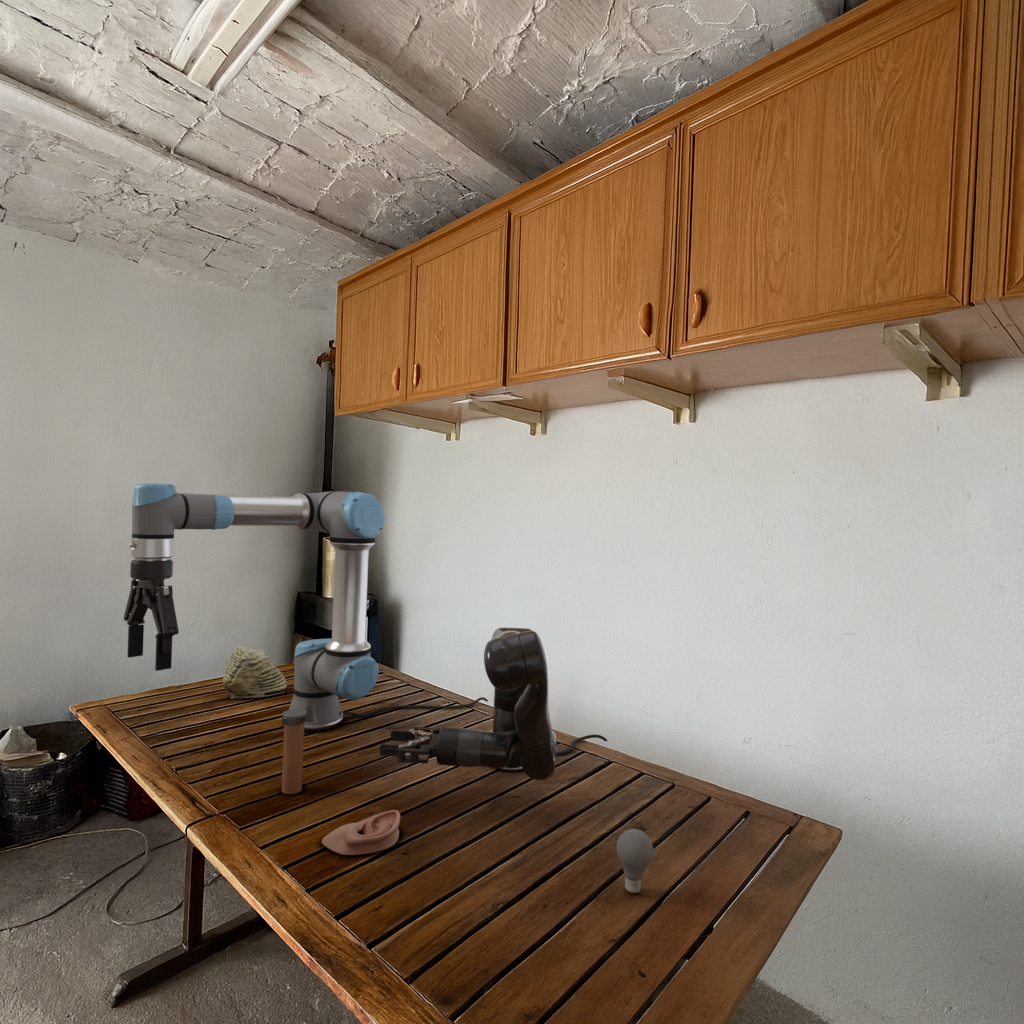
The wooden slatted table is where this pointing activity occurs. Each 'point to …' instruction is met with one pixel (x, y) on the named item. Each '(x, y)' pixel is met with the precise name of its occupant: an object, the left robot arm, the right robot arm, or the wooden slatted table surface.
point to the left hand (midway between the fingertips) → (148, 662)
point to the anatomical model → (365, 835)
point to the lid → (294, 717)
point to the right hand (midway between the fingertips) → (385, 742)
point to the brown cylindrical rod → (292, 758)
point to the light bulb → (634, 857)
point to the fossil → (252, 674)
